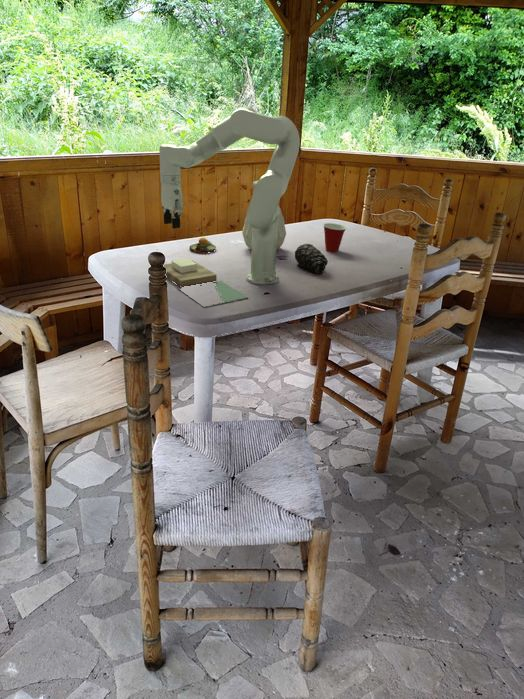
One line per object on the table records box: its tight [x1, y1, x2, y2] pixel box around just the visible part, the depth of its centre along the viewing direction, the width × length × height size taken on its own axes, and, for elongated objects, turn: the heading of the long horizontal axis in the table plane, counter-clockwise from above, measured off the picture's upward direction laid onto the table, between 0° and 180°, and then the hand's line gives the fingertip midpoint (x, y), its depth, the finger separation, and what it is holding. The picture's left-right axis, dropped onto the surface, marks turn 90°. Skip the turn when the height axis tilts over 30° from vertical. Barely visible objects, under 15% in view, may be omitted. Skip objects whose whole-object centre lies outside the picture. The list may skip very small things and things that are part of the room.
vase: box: [241, 180, 287, 251], centre depth 247 cm, size 20×20×30 cm
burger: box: [189, 236, 217, 254], centre depth 248 cm, size 12×12×8 cm
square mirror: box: [200, 280, 249, 303], centre depth 202 cm, size 19×18×1 cm
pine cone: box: [294, 243, 329, 277], centre depth 229 cm, size 10×18×10 cm, turn 37°
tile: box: [171, 258, 197, 273], centre depth 216 cm, size 8×7×2 cm
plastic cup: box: [322, 222, 348, 254], centre depth 254 cm, size 11×11×12 cm
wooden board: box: [163, 259, 217, 287], centre depth 216 cm, size 20×15×3 cm
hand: (172, 225), depth 217 cm, fingers open, 6 cm apart
